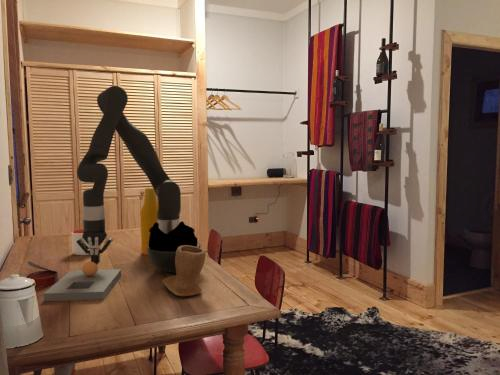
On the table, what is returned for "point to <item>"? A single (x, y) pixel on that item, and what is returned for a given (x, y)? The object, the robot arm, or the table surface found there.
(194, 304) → the table surface
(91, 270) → the ball
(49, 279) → the canned food
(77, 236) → the cup
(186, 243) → the bowl of black rocks
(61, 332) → the table surface
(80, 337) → the table surface
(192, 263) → the tan suede boot
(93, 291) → the grey flat block
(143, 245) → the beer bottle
